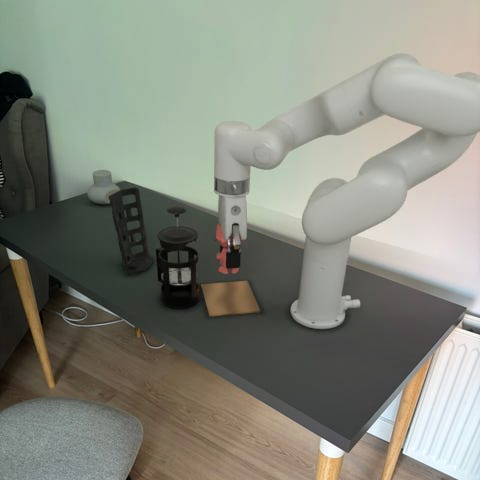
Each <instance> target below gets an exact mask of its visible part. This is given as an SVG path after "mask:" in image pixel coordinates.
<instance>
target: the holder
mask: <svg viewBox="0 0 480 480" xmlns="http://www.w3.org/2000/svg"><path fill="white" fill-rule="evenodd" d="M131 195H132V196H134V198H135V201H134V202H129V203H123V197H125V196H131ZM109 200H110V204H109V205H110V207H111V215H112V221H113V224H114V228H115V231H116V233H117V241H118V247H119V252H120V256H121V260H122V266H123V269H124V271H125V272H126V274H127V275H128V276H135V275H138V274H140V273H143V272H144V271H146V270H147V269H149V268H150V267H151V266H152V264H153V258H152V256H151V255H150V253H149V248H148V241H147V240H148V239H147V233H146V226H145V220H144V213H143V207H142V201H141V194H140V189H139V188H138V187H129V188H125V189H120V191H118V192H116V193H114V194H112V195H110V196H109ZM132 209H136V210H137V214H136V215H133V213H132ZM136 221H137V222H139V227H136V228H131V229H129V228H128V223H131V222H136ZM137 234H140V235H141V236H140V237H141V239H138V240H137V237H136V235H137ZM138 246H142V251H139V252H136V253H133V251H132V248H134V247H138ZM140 258H145V260H142V261H141V260H138V259H140ZM130 268H133V269H132V270H130ZM134 268H135V269H134Z"/></svg>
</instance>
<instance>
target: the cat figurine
mask: <svg viewBox="0 0 480 480" xmlns="http://www.w3.org/2000/svg"><path fill="white" fill-rule="evenodd" d="M216 225H217V226H216V233H215V240H213V242H215V241H217V243H218V244H219V246H220V245H221V246H222V247H223V250H222V252H218V253H216V256H215V258H216V259H217V261H219V264H220V266H219V267H218V268H217V272H220V273H222V274H224V275H228V274H229V271H230V273H231V274H236V273H238V272H239V270H240V267H239V268H230V269H227V268H226V252H228V250H227V241H226V240H225V239H224V237H223V234H222V230H221V226H220V225H219V223H217V224H216ZM229 239H233V236H229ZM242 242H243V240H242V238H241V236H240V244H241V243H242ZM231 245H233V241H231V242H230V246H231Z"/></svg>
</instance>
